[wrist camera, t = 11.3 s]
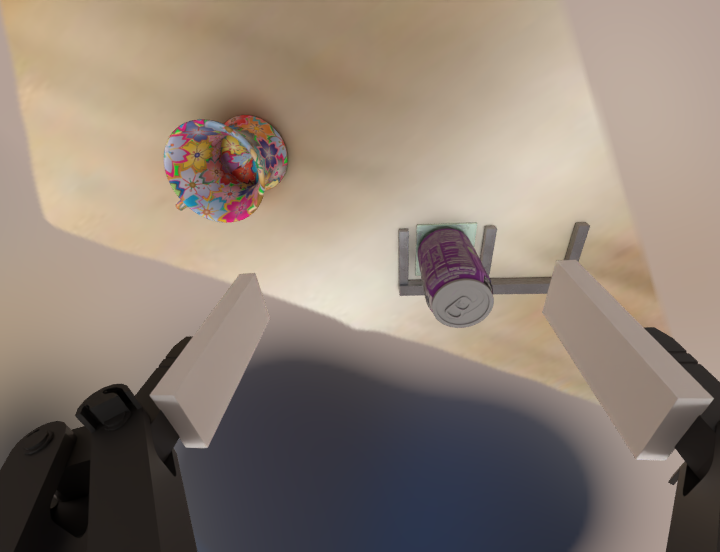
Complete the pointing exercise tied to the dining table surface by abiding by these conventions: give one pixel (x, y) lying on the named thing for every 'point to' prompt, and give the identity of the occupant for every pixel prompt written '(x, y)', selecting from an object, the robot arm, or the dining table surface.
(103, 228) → the dining table surface
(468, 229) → the grey flat frame
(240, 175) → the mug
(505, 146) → the dining table surface
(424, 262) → the beverage can
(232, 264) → the dining table surface
